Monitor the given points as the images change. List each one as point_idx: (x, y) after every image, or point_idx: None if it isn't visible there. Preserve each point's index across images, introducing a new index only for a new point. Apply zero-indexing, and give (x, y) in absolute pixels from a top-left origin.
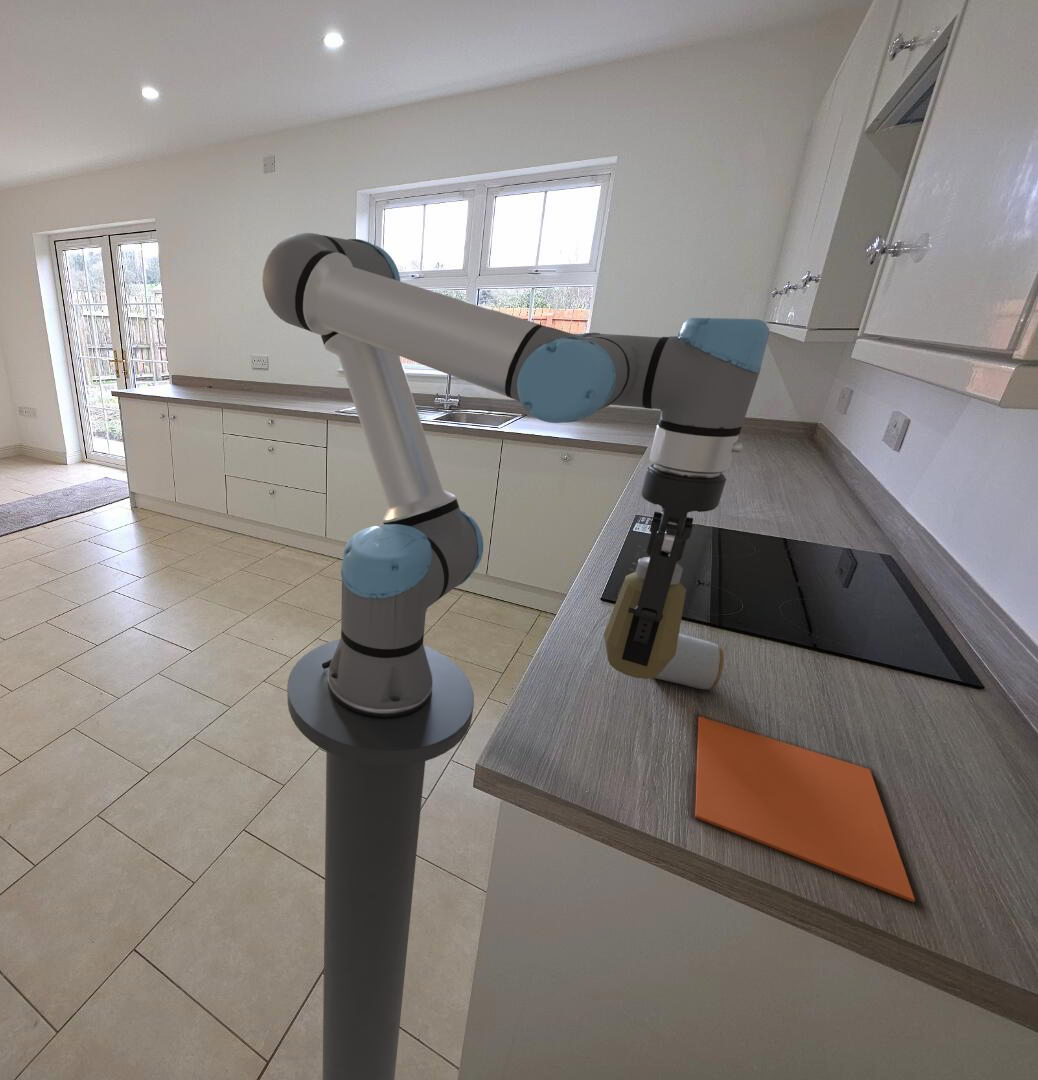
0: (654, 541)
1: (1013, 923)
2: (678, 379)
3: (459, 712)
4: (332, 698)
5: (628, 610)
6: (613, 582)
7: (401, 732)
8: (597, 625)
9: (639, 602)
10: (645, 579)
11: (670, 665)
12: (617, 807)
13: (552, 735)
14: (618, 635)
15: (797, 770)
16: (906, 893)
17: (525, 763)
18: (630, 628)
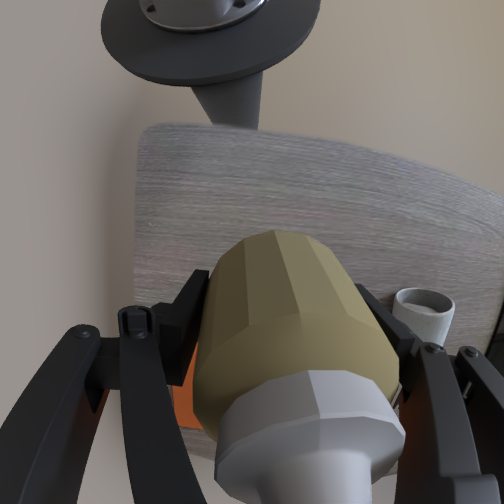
0: (440, 496)
1: (194, 452)
2: None
3: (190, 67)
4: None
5: (123, 308)
6: None
7: (131, 37)
8: (481, 224)
9: (54, 350)
10: (14, 405)
11: (398, 315)
12: (144, 254)
13: (225, 176)
14: (222, 265)
15: None
16: (178, 423)
17: (160, 157)
18: (176, 300)
